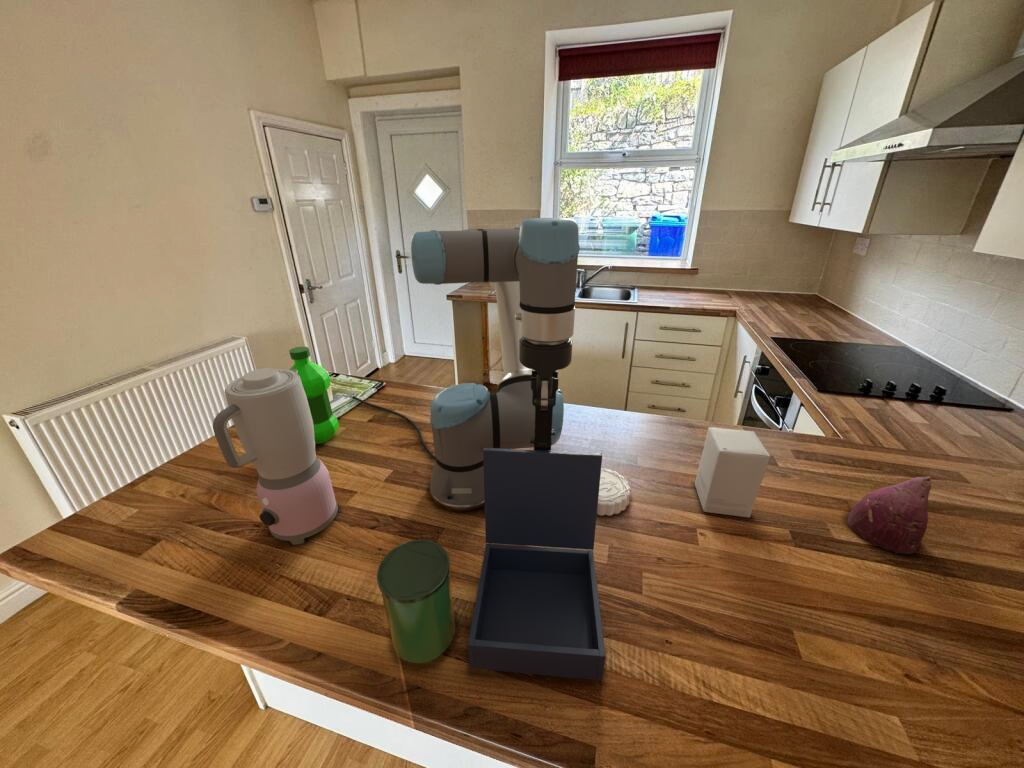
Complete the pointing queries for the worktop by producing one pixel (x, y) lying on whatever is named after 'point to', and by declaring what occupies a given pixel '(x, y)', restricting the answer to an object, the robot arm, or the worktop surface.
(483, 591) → the chest
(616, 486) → the mooncake
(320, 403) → the plastic bottle
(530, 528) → the chest lid
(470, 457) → the robot arm
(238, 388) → the blender
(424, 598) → the green pot
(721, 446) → the rectangular carton
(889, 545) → the vegetable
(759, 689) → the worktop surface
